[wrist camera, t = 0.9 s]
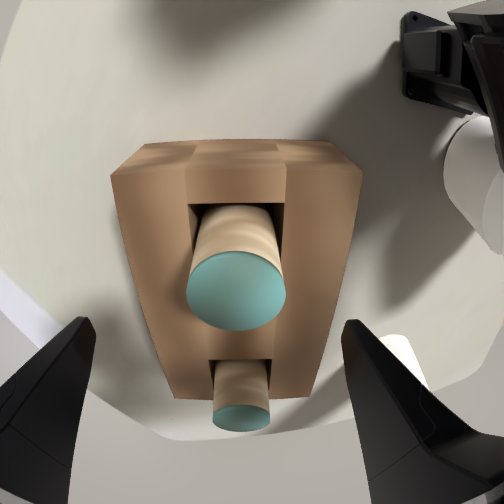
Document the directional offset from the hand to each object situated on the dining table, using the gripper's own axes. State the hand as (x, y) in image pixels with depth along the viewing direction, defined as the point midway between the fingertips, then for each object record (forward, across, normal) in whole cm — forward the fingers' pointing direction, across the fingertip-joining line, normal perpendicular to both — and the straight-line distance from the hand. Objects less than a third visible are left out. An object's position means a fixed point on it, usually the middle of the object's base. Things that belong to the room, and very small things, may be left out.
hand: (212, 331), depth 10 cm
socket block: (+12, -1, +7) cm, 14 cm away
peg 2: (+8, -1, +13) cm, 15 cm away
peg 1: (+8, -1, +1) cm, 8 cm away
